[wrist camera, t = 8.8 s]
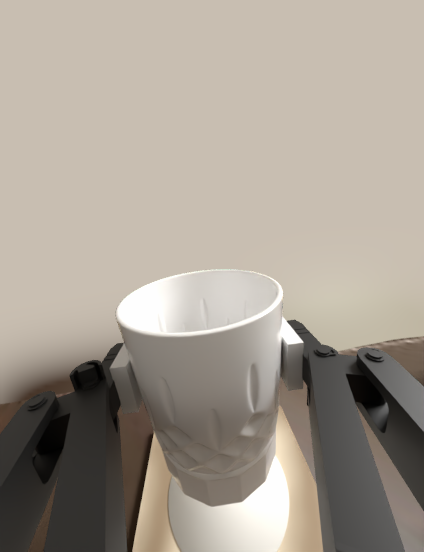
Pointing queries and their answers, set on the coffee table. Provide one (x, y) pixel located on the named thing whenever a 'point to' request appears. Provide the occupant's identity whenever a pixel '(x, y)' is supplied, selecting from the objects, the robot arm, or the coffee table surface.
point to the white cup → (209, 376)
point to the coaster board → (233, 509)
